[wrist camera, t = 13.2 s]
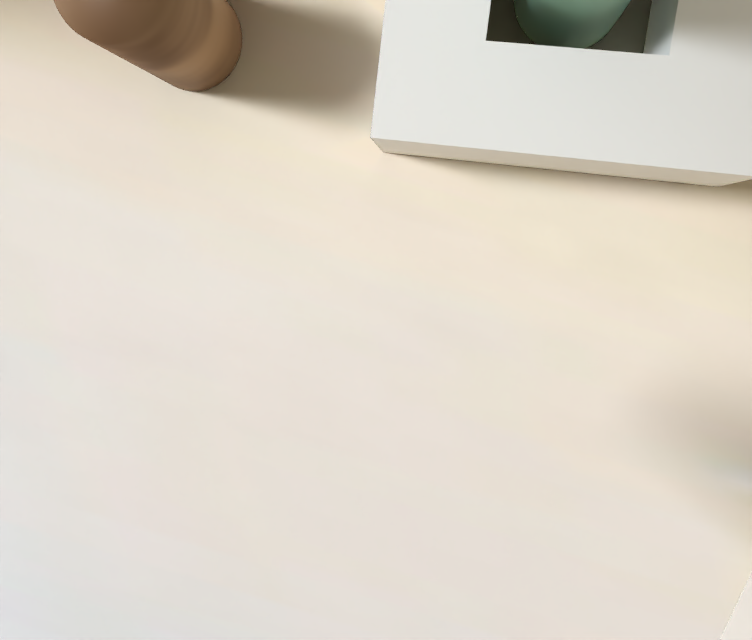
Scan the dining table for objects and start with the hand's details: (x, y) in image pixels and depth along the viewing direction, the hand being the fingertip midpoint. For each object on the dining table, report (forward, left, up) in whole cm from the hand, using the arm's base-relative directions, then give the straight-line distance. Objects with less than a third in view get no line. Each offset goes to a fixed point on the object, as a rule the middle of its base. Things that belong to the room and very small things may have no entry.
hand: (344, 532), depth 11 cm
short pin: (-12, +13, -18) cm, 25 cm away
